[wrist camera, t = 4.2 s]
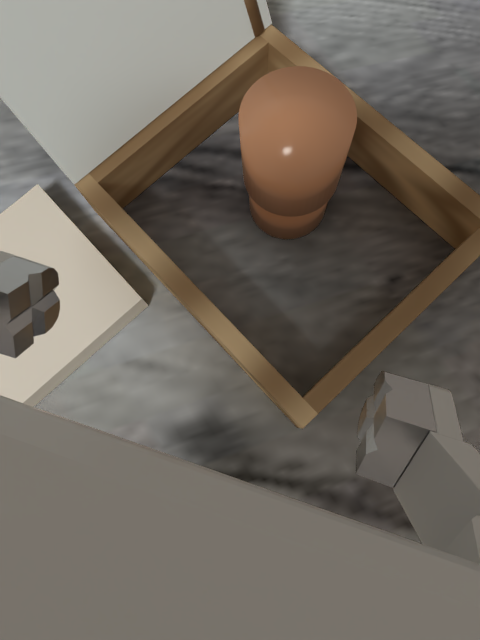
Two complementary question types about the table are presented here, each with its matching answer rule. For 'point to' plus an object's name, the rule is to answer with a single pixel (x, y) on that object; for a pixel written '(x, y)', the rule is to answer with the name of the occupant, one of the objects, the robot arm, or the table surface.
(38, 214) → the tile
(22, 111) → the propped lid
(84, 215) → the table surface
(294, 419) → the cold frame
